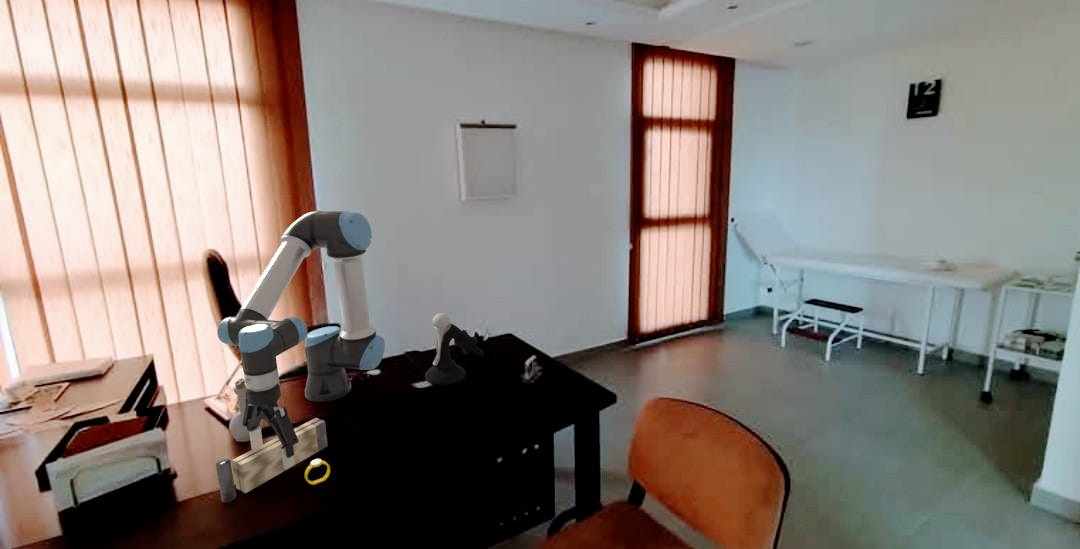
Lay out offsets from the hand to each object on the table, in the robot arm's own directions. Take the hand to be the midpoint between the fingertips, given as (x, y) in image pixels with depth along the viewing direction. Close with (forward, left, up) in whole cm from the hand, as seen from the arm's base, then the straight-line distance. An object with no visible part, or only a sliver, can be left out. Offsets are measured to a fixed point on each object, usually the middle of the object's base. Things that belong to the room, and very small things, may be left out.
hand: (273, 458), depth 135 cm
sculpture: (+2, +73, -4) cm, 73 cm away
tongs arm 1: (-1, +3, -4) cm, 5 cm away
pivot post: (0, -12, -4) cm, 13 cm away
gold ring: (+13, +3, -4) cm, 14 cm away
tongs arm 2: (+1, +3, -4) cm, 5 cm away
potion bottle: (-24, +7, -4) cm, 25 cm away
